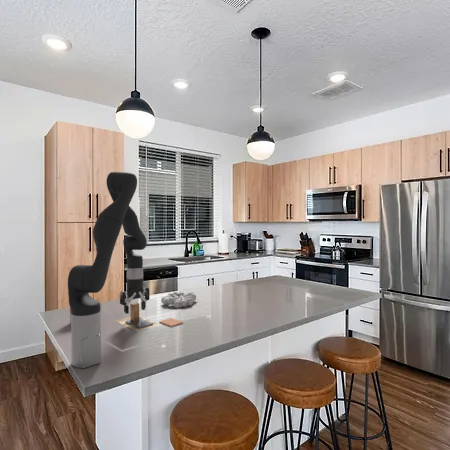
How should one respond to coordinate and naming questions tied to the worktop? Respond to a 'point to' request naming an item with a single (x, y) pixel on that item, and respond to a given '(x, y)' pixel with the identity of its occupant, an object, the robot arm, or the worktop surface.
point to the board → (122, 321)
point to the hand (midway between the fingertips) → (135, 311)
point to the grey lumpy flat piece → (179, 299)
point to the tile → (171, 322)
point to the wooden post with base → (136, 317)
